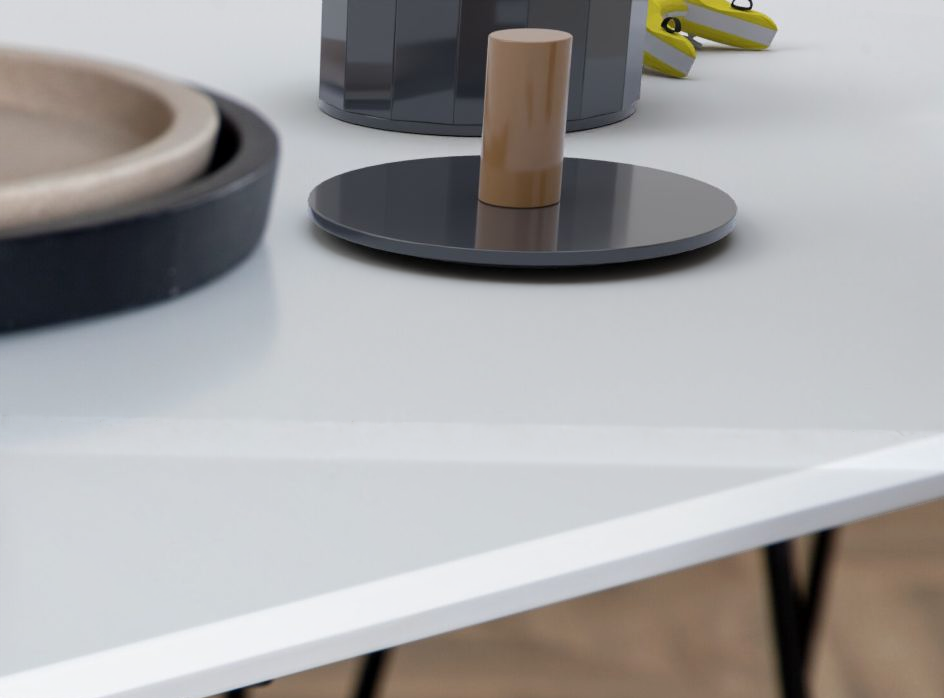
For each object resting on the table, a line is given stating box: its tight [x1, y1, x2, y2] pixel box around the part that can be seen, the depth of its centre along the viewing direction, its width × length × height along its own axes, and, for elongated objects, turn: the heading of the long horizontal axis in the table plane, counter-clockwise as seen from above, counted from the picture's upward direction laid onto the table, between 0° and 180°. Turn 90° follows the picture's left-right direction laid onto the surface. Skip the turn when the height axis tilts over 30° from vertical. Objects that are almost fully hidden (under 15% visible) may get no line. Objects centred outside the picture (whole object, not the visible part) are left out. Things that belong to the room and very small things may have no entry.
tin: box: [318, 0, 649, 137], centre depth 105 cm, size 15×15×8 cm
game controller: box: [643, 0, 778, 78], centre depth 116 cm, size 10×6×4 cm, turn 139°
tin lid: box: [306, 28, 739, 269], centre depth 84 cm, size 16×16×7 cm
